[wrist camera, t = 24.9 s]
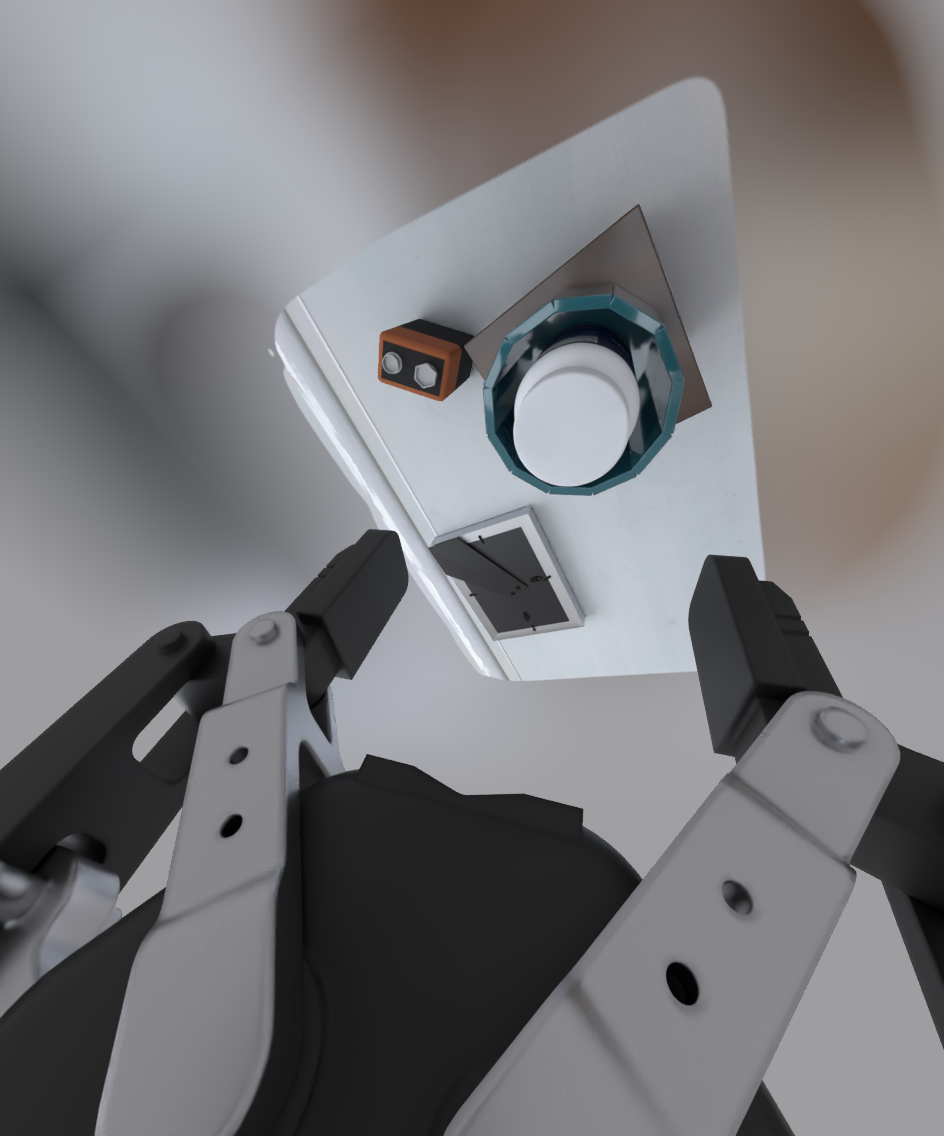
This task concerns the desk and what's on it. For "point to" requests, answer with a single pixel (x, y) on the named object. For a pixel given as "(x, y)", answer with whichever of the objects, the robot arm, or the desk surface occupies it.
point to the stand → (618, 261)
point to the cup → (651, 364)
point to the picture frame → (509, 576)
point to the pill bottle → (576, 406)
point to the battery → (424, 358)
